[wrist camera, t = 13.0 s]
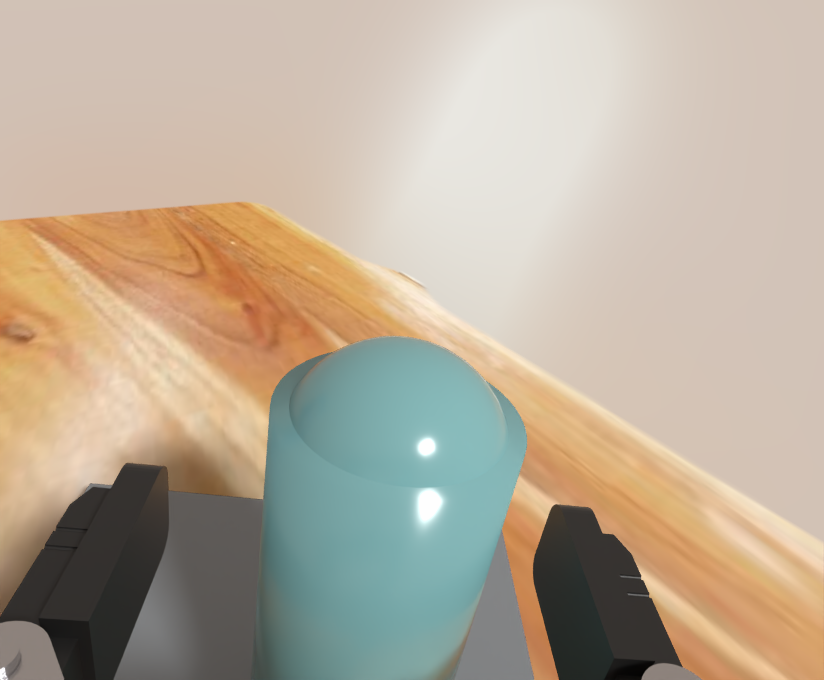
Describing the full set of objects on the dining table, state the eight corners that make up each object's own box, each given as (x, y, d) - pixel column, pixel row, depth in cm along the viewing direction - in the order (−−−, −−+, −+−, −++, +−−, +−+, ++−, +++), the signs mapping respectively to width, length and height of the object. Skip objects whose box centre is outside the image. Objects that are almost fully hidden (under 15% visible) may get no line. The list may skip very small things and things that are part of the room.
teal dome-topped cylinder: (225, 849, 14) (248, 414, 9) (262, 657, 19) (294, 280, 13) (430, 858, 15) (577, 452, 9) (421, 669, 19) (518, 312, 14)
